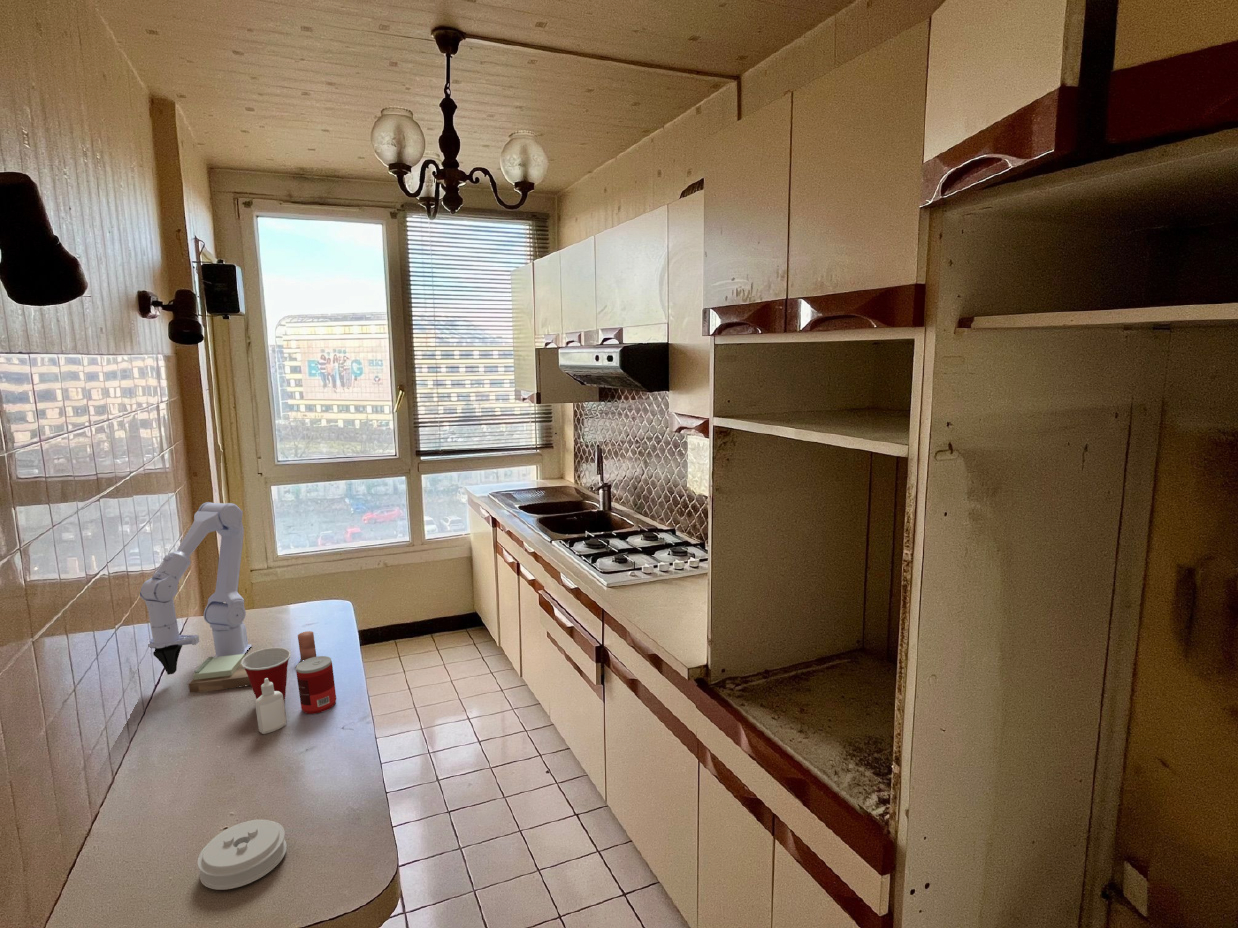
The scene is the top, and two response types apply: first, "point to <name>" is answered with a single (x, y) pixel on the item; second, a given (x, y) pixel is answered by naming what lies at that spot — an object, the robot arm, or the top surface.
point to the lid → (242, 854)
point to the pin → (306, 645)
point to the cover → (218, 666)
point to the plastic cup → (267, 668)
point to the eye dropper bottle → (270, 709)
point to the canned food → (316, 684)
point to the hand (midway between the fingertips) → (172, 672)
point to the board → (220, 682)
